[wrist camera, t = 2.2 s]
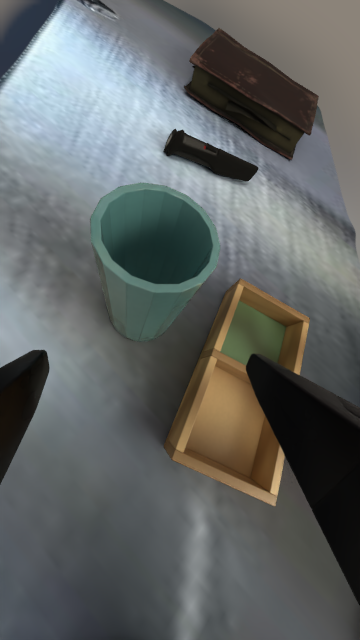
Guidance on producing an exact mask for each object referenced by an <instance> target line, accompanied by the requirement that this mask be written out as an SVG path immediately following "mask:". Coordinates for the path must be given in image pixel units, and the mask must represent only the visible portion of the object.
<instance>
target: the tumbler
mask: <svg viewBox="0 0 360 640" xmlns="http://www.w3.org/2000/svg"><path fill="white" fill-rule="evenodd" d="M90 226H91V243H92V247H93V251H94V256H95V260H96V264H97V268H98V272H99V276H100V280H101V285H102V289H103V293H104V297H105V301H106V305H107V309H108V314H109V318H110V319H111V322H112V324H113V326H114V327H115V329H116V330H117V331H118V332H119V333H120V334H121V335H123V336H124V337H126V338H128V339H130V340H134V341H140V342H142V341H150V340H153V339H156V338H158V337H159V336H161V335H162V334H164V332H165V331H166V330H167V329H168V327H169V326H170V325H171V324H172V323H173V321H174V320H175V319H176V317H177V316H178V315H179V314H180V312H181V311H182V310H183V309H184V307H185V306H186V305H187V304H188V302H189V301H190V300H191V298H192V297H193V296H194V295H195V293H196V292H197V291H198V290H199V288H200V287H201V286H202V285H203V283H204V282H205V281H206V280H207V278H208V277H209V276H210V274H211V273H212V272H213V271H214V269H215V268H216V266H217V262H218V257H219V252H220V243H219V239H218V234H217V230H216V227H215V225H214V224H213V222H212V221H211V219H210V218H209V216H208V215H207V213H206V212H205V210H204V209H203V208H202V207H200V206H199V205H198V204H197V203H195V202H194V201H193V200H192V199H191V198H189V197H188V196H186V195H185V194H183V193H180V192H178V191H176V190H174V189H171V188H169V187H167V186H163V185H156V184H149V183H136V184H131V185H125V186H120V187H118V188H116V189H115V190H113V191H112V192H110V193H109V194H107V195H106V196H104V197H102V198H101V199H100V201H99V203H98V205H97V207H96V208H95V210H94V212H93V214H92V216H91V219H90Z"/></svg>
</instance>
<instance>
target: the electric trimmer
mask: <svg viewBox="0 0 360 640" xmlns="http://www.w3.org/2000/svg"><path fill="white" fill-rule="evenodd" d="M164 152H167V156H170V155H171V154H176V155H179V156H181V157H184V158H186V159H189V160H191V161H194V162H197V163H199V164H202V165H204V166H207V167H210V169H211V170H212V171H213V172H214V173H216V174H220V175H223V176H227V177H231V178H235V179H239V180H243V181H249V180H250V179H251V178H252V177H253V176H254V175H255V173H256V172H257V170H258V167H257V166H255V165H253V164H251V163H249V162H246V161H244V160H242V159H240V158H238V157H236V156H234V155H231V154H229V153H227V152H225V151H223V150H221V149H218V148H216V147H214V146H212V145H210V144H208V143H205V142H203V141H200V140H198V139H196V138H194V137H192V136H189V135H187V134H186V133H184V130H180V131H177V130H176V129H174V130H173V131H172V133H171V134H170V136H169V137H168V139H167V142H166V145H165V148H164Z"/></svg>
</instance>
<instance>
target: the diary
mask: <svg viewBox="0 0 360 640" xmlns="http://www.w3.org/2000/svg"><path fill="white" fill-rule="evenodd" d="M189 62H190V63H192V64H193V65H195V66H193V68H195V69H194V73H193V78H192V81H191V82H190V83H189V84H188V85H187V86H184V88H185V90H186V91H187V92H188V93H189V94H190V95H191V96H193V97H194V98H196V99H197V100H198V101H200V102H201V103H203V104H204V105H205V106H207V107H208V108H210V109H211V110H213V111H214V112H216V113H218V114H220V115H222V116H224V117H225V118H227V119H229V120H231V121H233V122H234V123H236V124H238V125H239V126H241V127H242V128H243V129H244V130H246V131H247V132H248V133H249V134H251V135H252V136H253V137H254V138H256V139H257V140H258V141H259V142H261V143H262V144H263V145H265V146H267V147H269V148H271V149H272V150H274V151H276V152H278V153H280V154H282V155H284V156H285V157H287V158H289V159H290V160H292V158H293V154H294V150H295V147H296V144H297V142H298V141H299V139H300V138H301V137H302V135H303V134H304V132H305V133H306V134H308V135H310V134H311V130H312V126H313V122H314V118H315V114H316V108H317V101H318V96H317V95H316V94H314V93H313V92H311V91H310V90H308V89H306V88H305V87H303V86H301V85H300V84H298V83H296V82H295V81H293V80H292V79H290V78H289V77H288V76H286V75H285V74H284V73H283V72H281V71H280V70H279V69H277V68H276V67H275V66H273V65H272V64H271V63H269V62H267V61H266V60H265V59H263V58H261V57H260V56H258V55H256V54H255V53H253V52H252V51H250V50H248V49H247V48H245V47H244V46H242V45H241V44H240V43H238V42H237V41H236V40H235V39H233V38H232V37H231V36H229V35H228V34H227V33H226V32H224V31H223V30H221V29H220V28H218V30H216V31H215V33H214V34H213V35H211V36H210V37H209V38H207V39H206V40H205V41H204V42H203V43H202V44H201V45H200V46H199V48H198V49H197V50H196V51H195V53H194V54H193V55H192V56H191V58H190V60H189Z"/></svg>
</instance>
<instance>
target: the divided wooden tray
mask: <svg viewBox="0 0 360 640" xmlns="http://www.w3.org/2000/svg"><path fill="white" fill-rule="evenodd" d="M309 321H310V318H308V317H307V316H305V315H303V314H301V313H300V312H298V311H296V310H294V309H293V308H291V307H289V306H287V305H286V304H284V303H282V302H281V301H279V300H277V299H275V298H274V297H272V296H270V295H268V294H267V293H265V292H263V291H261V290H260V289H258V288H256V287H255V286H253V285H251V284H249V283H248V282H246V281H244V280H242V279H241V278H240V279H239V280H238V281H237V282H236V283H235V284H234V285H233V286H231V287H230V288H229V289H228V290H227V291H226V293H225V296H224V298H223V300H222V303H221V305H220V308H219V310H218V313H217V315H216V318H215V320H214V323H213V325H212V328H211V330H210V333H209V335H208V338H207V340H206V343H205V345H204V347H203V350H202V352H201V355H200V357H199V360H198V362H197V365H196V367H195V370H194V372H193V375H192V377H191V380H190V382H189V385H188V387H187V390H186V392H185V395H184V397H183V399H182V402H181V404H180V407H179V409H178V412H177V414H176V417H175V419H174V422H173V424H172V427H171V429H170V432H169V434H168V437H167V439H166V442H165V444H164V448H165V450H166V451H167V453H168V455H169V456H170V458H171V460H173V461H175V462H178V463H180V464H182V465H184V466H186V467H189V468H191V469H193V470H195V471H197V472H200V473H202V474H204V475H206V476H208V477H211V478H213V479H215V480H217V481H219V482H222V483H224V484H226V485H228V486H230V487H233V488H235V489H237V490H239V491H241V492H244V493H246V494H248V495H250V496H253V497H255V498H257V499H259V500H261V501H264V502H266V503H268V504H270V505H272V506H275V505H276V500H277V495H278V490H279V484H280V479H281V473H282V468H283V462H284V457H285V455H284V453H283V451H282V449H281V447H280V445H279V443H278V441H277V439H276V437H275V435H274V433H273V431H272V429H271V427H270V425H269V423H268V420H267V418H266V416H265V414H264V412H263V410H262V408H261V406H260V404H259V402H258V400H257V398H256V396H255V393H254V390H253V388H252V385H251V383H250V380H249V377H248V375H247V372H246V365H247V362H248V360H249V357H250V355H251V354H253V353H258V354H262V355H263V356H265V357H267V358H269V359H271V360H273V361H274V362H276V363H278V364H280V365H282V366H284V367H285V368H287V369H289V370H291V371H293V372H295V373H296V374H298V375H300V369H301V364H302V358H303V353H304V348H305V342H306V337H307V331H308V326H309Z"/></svg>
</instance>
